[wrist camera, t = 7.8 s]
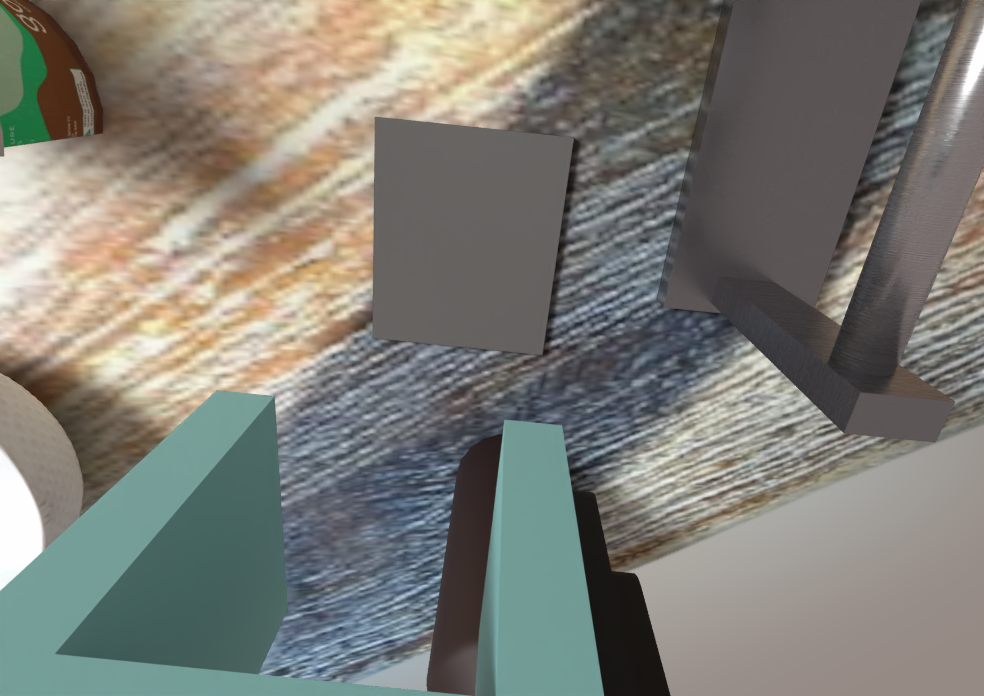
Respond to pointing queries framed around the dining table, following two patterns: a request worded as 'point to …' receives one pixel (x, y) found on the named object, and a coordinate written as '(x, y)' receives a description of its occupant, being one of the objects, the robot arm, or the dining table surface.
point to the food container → (42, 80)
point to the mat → (466, 233)
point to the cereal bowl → (33, 479)
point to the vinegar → (465, 572)
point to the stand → (826, 197)
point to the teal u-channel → (272, 576)
